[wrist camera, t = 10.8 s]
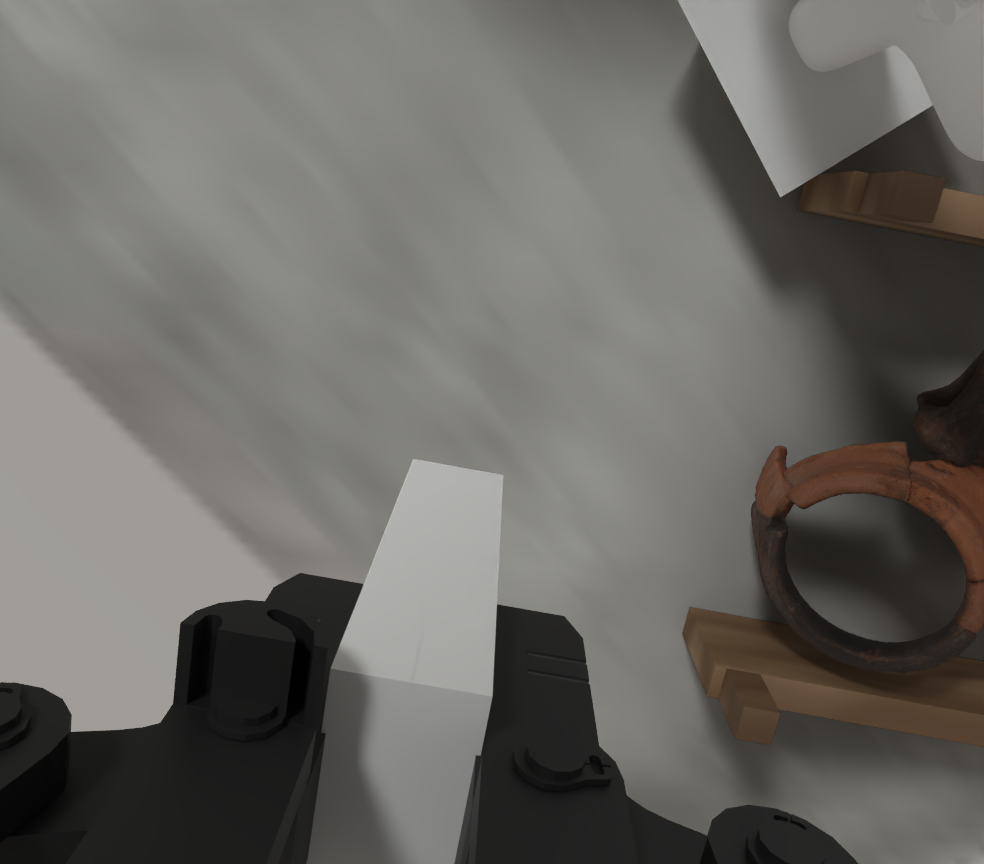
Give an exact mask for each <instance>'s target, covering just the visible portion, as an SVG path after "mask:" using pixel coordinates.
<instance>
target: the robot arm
mask: <svg viewBox="0 0 984 864" xmlns="http://www.w3.org/2000/svg"><path fill="white" fill-rule="evenodd" d="M502 489H503V475H500V474H494V473H489V472H483V471H477V470H472V469H466V468H461V467H455V466H449V465H444V464H438V463H433V462H427V461H421V460H416V459H413V461H412V463H411V466H410V468H409V471H408V474H407V476H406V479H405V481H404V484H403V486H402V489H401V491H400V494H399V496H398V499H397V501H396V504H395V506H394V509H393V512H392V514H391V517H390V519H389V522H388V524H387V527H386V529H385V532H384V534H383V537H382V539H381V542H380V544H379V547H378V550H377V552H376V555H375V557H374V560H373V562H372V565H371V567H370V570H369V572H368V575H367V577H366V580H365V582H364V584H360V583H354V582H349V581H343V580H337V579H331V578H326V577H320V576H314V575H309V574H303V573H299V574H297V575H296V576H294V577H292V578H290V579H288V580H286V581H285V582H283V583H281V584H279V585H277V586H275V587H274V588H273V589H272V591H271V593H270V594H269V596H268V598H267V599H266V601H252V600H243V601H234V602H225V603H218V604H215V605H212V606H209V607H206V608H204V609H200V610H197V611H195V612H194V613H193V614H192V615H190V616H189V617H188V618H186V619H185V620H184V621H182V622H181V624H180V635H179V646H178V657H177V669H176V679H175V691H174V700H173V705H172V706H171V708H170V709H169V711H168V712H167V714H166V715H165V717H164V718H163V720H162V721H161V723H159V724H155V725H151V726H147V727H143V728H134V729H124V730H110V731H85V732H71V716H72V715H71V713H70V711H69V710H68V708H67V706H66V704H65V703H64V701H63V699H61V698H59V697H58V696H56V695H54V694H52V693H50V692H49V691H47V690H45V689H43V688H39V687H34V686H29V685H24V684H19V683H2V682H1V683H0V864H858V863H857V862H856V860H855V859H854V858H853V857H852V856H851V855H850V854H849V853H848V852H847V851H846V850H845V849H844V848H843V847H842V846H841V845H840V844H839V843H838V842H837V841H836V840H835V839H834V838H833V837H831V836H830V835H828V834H826V833H825V832H823V831H822V830H820V829H819V828H817V827H815V826H814V825H812V824H811V823H809V822H808V821H806V820H804V819H802V818H799V817H797V816H795V815H793V814H792V815H791V814H788V813H787V812H784V811H781V810H778V809H774V808H767V807H760V806H753V805H745V806H739V807H733V808H727V809H725V810H724V811H723V812H722V813H720V814H719V815H718V816H716V817H715V818H714V819H713V820H712V822H711V826H710V829H709V833H708V836H707V835H704V834H702V833H699V832H697V831H694V830H692V829H689V828H687V827H684V826H682V825H679V824H677V823H674V822H672V821H669V820H667V819H665V818H663V817H661V816H659V815H657V814H655V813H652V812H650V811H648V810H646V809H645V808H643V807H642V806H641V805H639V804H638V803H636V802H635V801H633V800H632V799H630V798H629V797H628V796H627V795H626V791H625V785H624V780H623V778H622V775H621V773H620V771H619V769H618V767H617V765H616V762H615V761H614V760H613V759H612V758H611V757H610V756H609V755H608V754H607V753H606V752H605V751H604V750H603V749H602V748H600V747H599V743H598V736H597V730H596V723H595V716H594V710H593V703H592V696H591V690H590V684H588V682H589V676H588V670H587V665H586V657H585V650H584V643H583V638H582V637H581V636H580V634H579V633H578V632H577V631H576V630H575V628H574V627H573V626H572V625H571V624H570V622H569V621H568V620H567V619H566V618H565V616H560V615H554V614H548V613H542V612H537V611H531V610H525V609H520V608H514V607H508V606H502V605H497V593H498V572H499V551H500V530H501V509H502Z"/></svg>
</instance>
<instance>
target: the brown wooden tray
mask: <svg viewBox="0 0 984 864" xmlns="http://www.w3.org/2000/svg"><path fill="white" fill-rule="evenodd" d="M945 183H946V179H945V178H940V177H935V176H930V175H925V174H920V173H915V172H910V171H905V170H901V171H890V172H879V173H865V172H860V171H849V172H838V173H828V174H819V175H817V176H815V177H814V178H812V179H810V180H809V181H807V182H805V183H804V185H803V189H802V193H801V197H800V200H799V204H798V208H797V211H802V212H807V213H812V214H817V215H822V216H827V217H833V218H838V219H843V220H848V221H853V222H858V223H863V224H868V225H873V226H878V227H883V228H889V229H894V230H899V231H904V232H909V233H914V234H919V235H924V236H929V237H934V238H939V239H945V240H950V241H955V242H960V243H965V244H970V245H975V246H980V247H984V196H981V195H976V194H971V193H966V192H961V191H956V190H951V189H946V188H944V186H945ZM682 634H683V637H684V639H685V642H686V644H687V647H688V649H689V652H690V654H691V657H692V660H693V662H694V665H695V667H696V670H697V672H698V675H699V677H700V680H701V683H702V685H703V688H704V690H705V693H706V695H707V696H708V697H713V698H718V699H719V702H720V704H721V707H722V709H723V712H724V714H725V716H726V719H727V721H728V724H729V726H730V729H731V731H732V733H733V736H734V738H735V739H738V740H743V741H749V742H754V743H760V744H766V745H771V743H772V740H773V737H774V734H775V730H776V727H777V724H778V721H779V718H780V714H781V713H780V711H779V710H785V711H790V712H796V713H801V714H807V715H812V716H818V717H823V718H829V719H834V720H839V721H845V722H850V723H856V724H861V725H867V726H872V727H878V728H883V729H889V730H894V731H900V732H905V733H911V734H916V735H922V736H927V737H933V738H938V739H944V740H949V741H955V742H960V743H966V744H971V745H976V746H982V747H984V661H979V660H974V659H968V658H963V657H957V656H955V657H953V658H951V659H950V660H948V661H946V662H944V663H941V665H940V666H938V667H936V668H930V669H927V670H922V671H911V672H907V673H899V672H880V671H874V670H872V669H860V668H857V667H854V666H852V665H847V664H845V663H842V662H840V661H837V660H835V659H834V658H832V657H830V656H828V655H826V654H824V653H822V652H821V651H819V650H817V649H816V648H814V647H813V646H812V645H811V644H809V643H808V642H807V641H806V640H805V639H803V638H802V637H801V636H799V635H798V634H796V633H795V632H794V630H793V629H792V628H791V626H790V625H784V624H779V623H773V622H768V621H763V620H757V619H752V618H746V617H741V616H736V615H730V614H725V613H719V612H714V611H709V610H703V609H698V608H692V607H690V608H689V611H688V615H687V619H686V622H685V626H684V630H683V633H682Z"/></svg>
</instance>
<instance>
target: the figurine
mask: <svg viewBox="0 0 984 864" xmlns="http://www.w3.org/2000/svg"><path fill="white" fill-rule="evenodd" d="M678 2H679V4H680V6H681V8H682V10H683V12H684V14H685V15H686V17H687V19H688V21H689V23H690V25H691V27H692V29H693V31H694V33H695V35H696V37H697V39H698V40H699V42H700V44H701V46H702V48H703V50H704V52H705V54H706V56H707V58H708V60H709V62H710V63H711V65H712V67H713V69H714V71H715V73H716V75H717V77H718V79H719V81H720V83H721V85H722V86H723V88H724V90H725V92H726V94H727V96H728V98H729V100H730V102H731V104H732V106H733V108H734V110H735V111H736V113H737V115H738V117H739V119H740V121H741V123H742V125H743V127H744V129H745V131H746V133H747V134H748V136H749V138H750V140H751V142H752V144H753V146H754V148H755V150H756V152H757V154H758V156H759V157H760V159H761V161H762V163H763V165H764V167H765V169H766V171H767V173H768V175H769V177H770V179H771V181H772V182H773V184H774V186H775V188H776V190H777V192H778V194H779V196H780V198H781V197H782V196H784V195H785V194H787V193H789V192H790V191H792V190H794V189H795V188H797V187H799V186H800V185H802V184H804V183H805V182H807V181H809V180H810V179H812V178H814V177H815V176H817V175H819V174H820V173H822V172H823V171H825V170H827V169H828V168H830V167H832V166H833V165H835V164H837V163H838V162H840V161H842V160H843V159H845V158H847V157H848V156H850V155H852V154H853V153H855V152H857V151H858V150H860V149H862V148H863V147H865V146H866V145H868V144H870V143H871V142H873V141H875V140H876V139H878V138H880V137H881V136H883V135H885V134H886V133H888V132H890V131H891V130H893V129H895V128H896V127H898V126H900V125H901V124H903V123H904V122H906V121H908V120H909V119H911V118H913V117H914V116H916V115H918V114H919V113H921V112H923V111H924V110H926V109H928V108H929V107H931V106H934V108H935V110H936V113H937V115H938V117H939V119H940V121H941V123H942V125H943V127H944V129H945V131H946V133H947V135H948V137H949V138H950V140H951V142H952V143H953V144H954V146H955V147H956V148H957V149H958V150H959V151H960V152H961V153H963V154H964V155H966V156H968V157H970V158H972V159H974V160H978V161H983V162H984V0H678Z"/></svg>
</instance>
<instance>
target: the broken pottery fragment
mask: <svg viewBox="0 0 984 864" xmlns="http://www.w3.org/2000/svg"><path fill="white" fill-rule="evenodd" d="M917 403H918V405H919V407H918V411H917V412H916V413H915V416H914V427H915V429H916V431H917V436H918V439H919V440H920V442H921V443H922V445H923V446H924V447H925V448H926V450H927V451H928V452H929V453H930V454H932V455H934V456H936V457H937V458H938V459H936V460H930V461H926V462H924V461H912V460H911V459H910V455H909V452H908V446H907V443H906V442H900V441H892V442H881V443H872V444H859V445H851V446H847V447H843V448H840V449H836V450H832V451H829V452H823V453H820V454H816V455H813V456H810V457H808V458H805V459H803V460H801V461H799V462H798V463H796V464H794V465H793V466H791V467H790V468H788V469H787V468H786V466H785V464H786V462H785V461H786V456H787V449H786V448H785V447H783V446H776V447H775V449H774V450H773V451H772V453H771V454H770V456H769V457H768V459H767V461H766V463H765V465H764V467H763V469H762V472H761V474H760V477H759V480H758V482H757V485H756V494H755V497H756V501H755V502H754V503H753V504H752V508H751V517H752V525H753V533H754V537H755V543H756V548H757V551H758V556H759V557H758V559H759V563H760V571H761V577H762V581H763V584H764V587H765V589H766V592H767V595H768V596H769V598H770V599H771V601H772V603H773V604H774V606H775V607H776V609H777V610H778V611H779V612H780V613H781V614H783V616H784V619H785V621H786V622H787V623H788V624H789V625H790V626H791V628H792V629H793V630H794V632H795V633H796V634H798V635H799V636H801V637H802V638H803V639H805V640H806V641H807V642H808V643H809V644H811V645H812V646H813V647H814V648H816V649H817V650H819V651H821V652H822V653H824V654H826V655H828V656H830V657H832V658H834V659H835V660H837V661H840V662H842V663H845V664H847V665H852V666H854V667H857V668H860V669H872V670H874V671H880V672H899V673H907V672H911V671H922V670H927V669H930V668H936V667H938V666H940V665H941V663H944V662H946V661H948V660H950V659H951V658H953V657H955V656H956V655H958V654H959V653H960V652H962V651H963V650H964V649H965V648H966V647H967V646H968V645H970V644H971V643H972V642H973V641H974V639H975V636H976V633H977V632H979V631H980V629H981V628H982V627H983V625H984V351H983V352H982V353H981V354H980V355H979V356H978V357H977V358H976V359H975V361H974V362H973V363H972V364H971V365H970V366H969V367H968V368H967V369H966V370H965V372H964V373H963V374H962V375H961V376H960V377H958V378H957V379H956V380H955V381H954V382H952V383H951V384H950V385H948V386H945V387H942V388H939V389H936V390H932V391H927V392H923V393H921V394H919V395H918V396H917ZM860 493H865V494H873V495H879V496H883V497H888V498H892V499H896V500H900V501H905V502H908V503H909V504H911V505H912V506H913V507H915V508H916V509H918V510H920V511H922V512H923V513H925V514H926V515H927V516H929V517H930V518H931V519H932V520H933V521H934V522H936V523H937V524H938V525H939V526H940V527H941V528H942V529H943V530H944V531H945V532H946V534H947V535H948V536H949V537H950V539H951V540H952V541H953V543H954V545H955V546H956V548H957V550H958V552H959V554H960V556H961V558H962V560H963V563H964V568H965V572H966V592H965V596H964V600H963V603H962V605H961V607H960V609H959V610H958V612H957V613H956V615H955V618H954V619H953V620H952V621H951V622H950V623H949V624H948V625H947V626H945V627H944V628H942V629H941V630H939V631H938V632H936V633H934V634H932V635H929V636H926V637H924V638H921V639H917V640H914V641H907V642H899V643H892V642H888V643H885V642H879V641H873V640H869V639H865V638H862V637H859V636H856V635H854V634H851V633H848V632H846V631H844V630H842V629H839V628H838V627H836V626H834V625H832V624H831V623H829V622H828V621H827V620H825V619H824V618H822V617H821V616H820V615H819V614H818V613H817V612H815V611H814V610H813V609H812V608H811V607H810V606H809V605H808V603H807V602H806V601H805V600H804V599H803V598H802V596H801V595H800V593H799V592H798V590H797V588H796V587H795V585H794V583H793V581H792V579H791V577H790V574H789V572H788V568H787V564H786V553H785V543H786V539H787V534H788V527H787V525H786V522H785V520H784V519H785V517H786V516H787V514H788V513H789V511H790V510H791V508H792V506H793V505H794V504H795V505H797V506H798V507H799V508H801V509H806V508H808V507H810V506H812V505H814V504H816V503H818V502H820V501H822V500H825V499H828V498H830V497H833V496H837V495H841V494H860Z"/></svg>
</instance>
